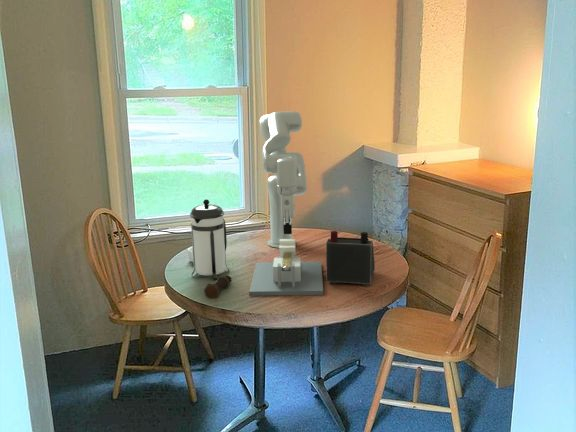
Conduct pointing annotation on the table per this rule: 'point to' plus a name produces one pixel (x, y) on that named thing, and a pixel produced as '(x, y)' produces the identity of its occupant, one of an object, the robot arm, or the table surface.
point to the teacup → (190, 253)
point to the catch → (287, 247)
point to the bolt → (217, 287)
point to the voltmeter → (349, 259)
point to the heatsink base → (286, 289)
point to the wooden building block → (286, 262)
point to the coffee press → (208, 240)
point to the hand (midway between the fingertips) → (287, 233)
